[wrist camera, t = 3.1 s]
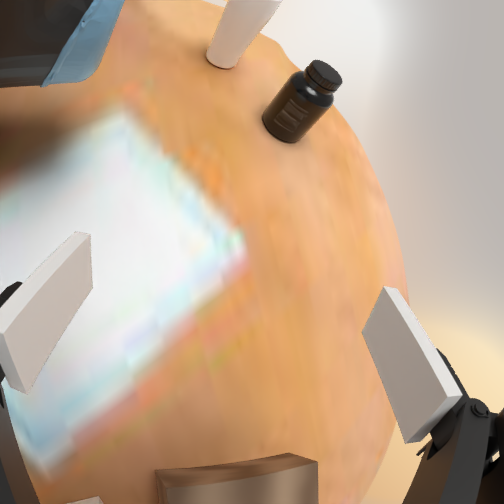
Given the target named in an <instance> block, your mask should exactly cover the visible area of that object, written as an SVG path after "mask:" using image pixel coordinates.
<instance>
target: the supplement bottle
mask: <svg viewBox="0 0 504 504" xmlns="http://www.w3.org/2000/svg"><path fill="white" fill-rule="evenodd" d="M341 84H342V78H341V76H340V75H339V74H338V72H337V71H336V70H335V69H334V68H332V67H331V66H330V65H328V64H327V63H325V62H323V61H320V60H313V61H312V62H311V63H310V65H309V66H307V67H306V69H305V71H299V72H296V73H294V74H292V75H291V77H290V78H289V79H288V80H287V82H286V83H285V84H284V86H283V87H282V88H281V90H280V91H279V92H278V94H277V95H276V96H275V98H274V99H273V100H272V102H271V103H270V104H269V106H268V107H267V109H266V110H265V112H264V114H263V120H264V124H265V126H266V127H267V129H268V130H269V131H270V132H271V133H272V134H273V135H274V136H276V137H277V138H279V139H281V140H283V141H287V142H295V141H298V140H300V139H301V138H302V137H303V136H304V135H305V134H306V133H307V132H308V131H309V130H310V128H311V127H312V126H313V125H314V124H315V123H316V122H317V121H318V120H319V119H320V118H321V117H322V116H323V115H324V114H325V112H326V111H327V110H328V109H329V108H330V107H331V106H332V104H333V101H334V97H333V93H334V92H335V91H336V90H337V89H338V88H339V86H340V85H341Z"/></svg>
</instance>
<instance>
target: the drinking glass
mask: <svg viewBox="0 0 504 504" xmlns="http://www.w3.org/2000/svg"><path fill="white" fill-rule="evenodd" d="M281 2H282V0H228V2H227V5H226V7H225V9H224V12H223V14H222V16H221V19H220V21H219V24H218V26H217V29H216V31H215V34H214V36H213V39H212V41H211V44H210V46H209V48H208V50H207V52H206V57H207V59H208V60H209V61H210V62H211V63H212V64H213V65H215V66H217V67H220V68H232V67H234V66H235V65H236V64H237V62H238V61H239V59H240V57H241V56H242V54H243V53H244V52H245V50H246V49H247V48H248V46H249V45H250V44H251V43H252V41H253V40H254V39H255V37H256V36H257V35H258V34H259V32H260V31H261V30H262V29H263V27H264V26H265V25H266V24H267V22H268V21H269V20H270V18H271V17H272V15H273V14H274V13H275V11H276V9H277V8H278V7H279V5H280V3H281Z"/></svg>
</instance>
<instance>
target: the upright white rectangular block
mask: <svg viewBox="0 0 504 504" xmlns="http://www.w3.org/2000/svg"><path fill="white" fill-rule="evenodd" d="M67 504H103V502H102V500H101V499H100V497H99V496H96V497H92V498H88V499H84V500H80V501H76V502H71V503H67Z"/></svg>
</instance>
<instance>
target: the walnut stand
mask: <svg viewBox="0 0 504 504" xmlns="http://www.w3.org/2000/svg"><path fill="white" fill-rule="evenodd" d="M155 473H156V482H157V490H158V497H159V504H318V462H317V461H314V460H311V459H307V458H304V457H301V456H298V455H294V454H291V453H286V454H281V455H276V456H271V457H266V458H261V459H255V460H249V461H243V462H237V463H230V464H222V465H214V466H205V467H195V468H182V469H165V470H155Z"/></svg>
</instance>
